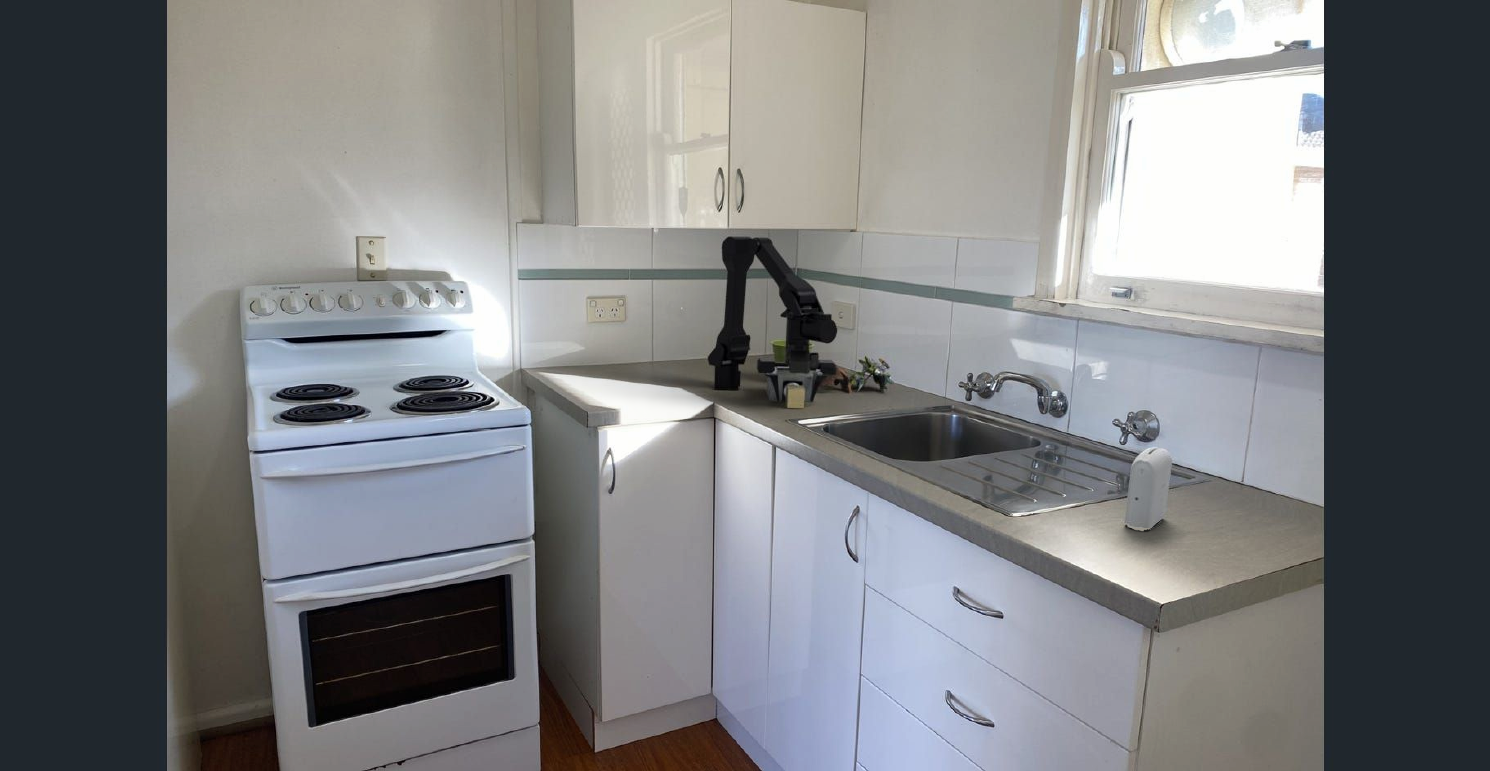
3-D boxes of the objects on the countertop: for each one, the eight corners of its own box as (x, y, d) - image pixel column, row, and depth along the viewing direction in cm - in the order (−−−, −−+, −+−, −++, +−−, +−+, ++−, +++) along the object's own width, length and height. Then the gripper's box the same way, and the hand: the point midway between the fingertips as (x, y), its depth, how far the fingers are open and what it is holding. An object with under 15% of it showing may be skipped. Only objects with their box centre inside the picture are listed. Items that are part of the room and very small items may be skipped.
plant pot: (805, 389, 244) (807, 347, 242) (763, 385, 248) (764, 344, 246) (816, 381, 255) (818, 341, 253) (775, 377, 259) (777, 338, 257)
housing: (766, 391, 239) (767, 367, 238) (808, 392, 240) (809, 368, 239) (770, 400, 229) (771, 375, 227) (813, 401, 229) (815, 376, 228)
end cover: (779, 392, 237) (780, 375, 237) (796, 393, 238) (797, 375, 237) (786, 407, 220) (787, 389, 219) (804, 408, 221) (805, 389, 220)
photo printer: (1148, 534, 142) (1158, 457, 140) (1120, 527, 145) (1129, 452, 143) (1168, 518, 150) (1177, 445, 148) (1141, 512, 153) (1150, 440, 150)
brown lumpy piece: (854, 397, 239) (842, 371, 236) (821, 410, 241) (808, 385, 238) (853, 377, 250) (841, 352, 246) (821, 390, 252) (809, 365, 249)
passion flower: (880, 410, 247) (905, 379, 241) (849, 406, 241) (874, 374, 235) (863, 381, 254) (886, 349, 248) (832, 376, 248) (856, 344, 242)
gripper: (761, 341, 211) (758, 407, 214) (841, 344, 212) (837, 409, 215) (758, 335, 222) (755, 397, 225) (834, 337, 223) (830, 399, 226)
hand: (794, 401), depth 223 cm, fingers open, 8 cm apart
